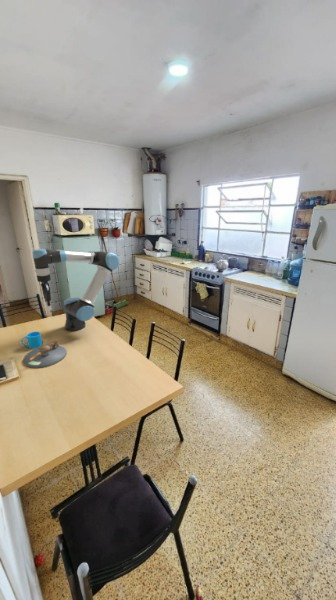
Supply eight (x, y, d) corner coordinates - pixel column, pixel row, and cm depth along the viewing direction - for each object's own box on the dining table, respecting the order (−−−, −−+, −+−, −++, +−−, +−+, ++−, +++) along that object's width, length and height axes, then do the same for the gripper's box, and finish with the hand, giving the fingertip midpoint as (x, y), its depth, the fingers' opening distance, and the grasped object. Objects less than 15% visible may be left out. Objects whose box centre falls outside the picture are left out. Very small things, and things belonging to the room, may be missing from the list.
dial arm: (53, 345, 165) (52, 339, 164) (61, 346, 163) (60, 340, 162) (27, 362, 146) (25, 356, 144) (35, 364, 144) (34, 358, 142)
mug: (42, 341, 174) (40, 330, 171) (42, 346, 167) (40, 335, 164) (22, 345, 169) (20, 334, 166) (21, 350, 162) (19, 339, 159)
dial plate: (56, 343, 171) (56, 337, 170) (73, 356, 155) (72, 350, 154) (18, 356, 155) (16, 351, 154) (32, 373, 139) (30, 367, 138)
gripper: (34, 273, 158) (40, 308, 166) (39, 277, 148) (45, 314, 156) (46, 271, 162) (52, 305, 170) (52, 275, 153) (58, 311, 160)
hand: (49, 309), depth 163 cm, fingers closed
